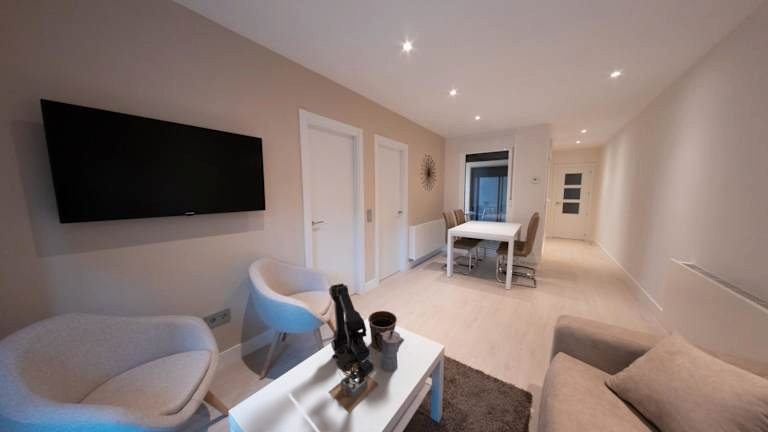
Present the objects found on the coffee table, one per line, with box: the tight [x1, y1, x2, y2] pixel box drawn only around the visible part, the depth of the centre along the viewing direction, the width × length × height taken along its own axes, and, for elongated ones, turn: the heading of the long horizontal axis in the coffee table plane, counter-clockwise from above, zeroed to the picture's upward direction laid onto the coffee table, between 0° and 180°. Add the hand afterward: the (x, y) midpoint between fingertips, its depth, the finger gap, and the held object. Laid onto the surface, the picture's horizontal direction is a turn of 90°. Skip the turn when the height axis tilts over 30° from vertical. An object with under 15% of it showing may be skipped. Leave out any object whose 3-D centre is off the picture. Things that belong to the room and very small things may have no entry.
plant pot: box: [367, 310, 398, 353], centre depth 132 cm, size 16×16×16 cm
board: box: [328, 374, 380, 414], centre depth 104 cm, size 14×18×1 cm
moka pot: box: [374, 330, 405, 373], centre depth 116 cm, size 10×15×20 cm, turn 78°
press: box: [340, 373, 368, 400], centre depth 103 cm, size 8×10×4 cm
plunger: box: [347, 369, 361, 390], centre depth 104 cm, size 6×6×7 cm
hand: (354, 376), depth 103 cm, fingers open, 9 cm apart
